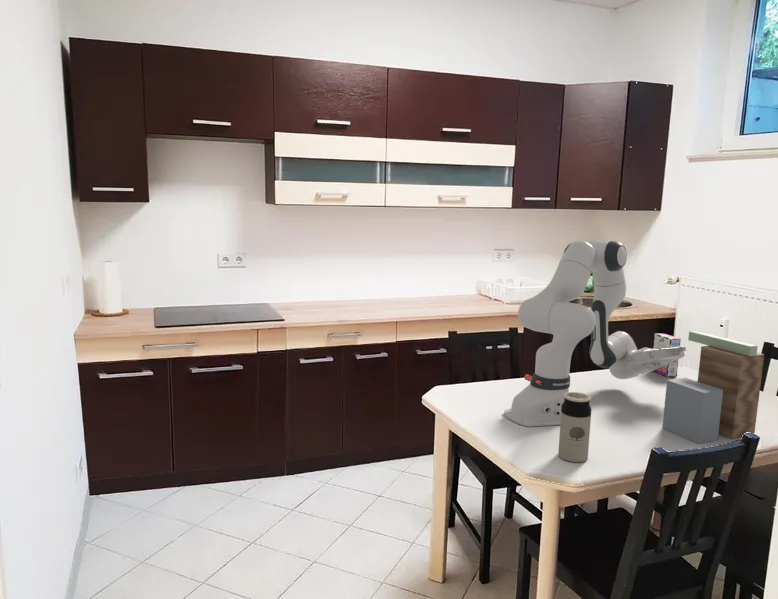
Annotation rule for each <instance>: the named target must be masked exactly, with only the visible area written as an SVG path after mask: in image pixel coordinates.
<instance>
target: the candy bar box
mask: <svg viewBox="0 0 778 599" xmlns="http://www.w3.org/2000/svg"><path fill="white" fill-rule="evenodd" d="M681 341H682V339H681V338H679V337H676V336H673V335H669V334H666V333H654V339H653V348H652V349H661V348H674V347H681ZM678 368H679V359H678V360H676V361H674V362H671V363H668V365H667V366H664V367H660V368H658V369H656V370H653V371H652V372H655V373H657V374H659V375H662V376H664V377H666V378H677V377H678Z"/></svg>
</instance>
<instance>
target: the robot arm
mask: <svg viewBox="0 0 778 599" xmlns="http://www.w3.org/2000/svg"><path fill="white" fill-rule="evenodd" d="M627 254H628V253H627V249H626V247H625V245H623V244H622V242H620V241H616V240H615V241H614V240H610V241H606V240H586V241H584V240H576V241H573V242H571V243H569V244H568V245H567V246H566V247H565V249H564V251H563V254H562V256H561V259H560V260H559V262H558V266H557V268H556V270H555V273H554V274H553V276H552V277H551V281H550V282H549V283H548V284H547V286H546V287H545V288H544V289H543V290H542V291H540V292H539V293H538V294H536V295H535V296H533V297H530V298H528V299H526V300H523V302H522V303H521V304H520V305H519V308H518V311H517V318H518V321H519V323H520V326H522V327H524V328H527V329H528V330H531V331H533V332H539V333H545V334H551V335H553V337H552V340H551V342H549V343H545V344H543V345H542V346H540V347H539V348H538V349H537V351H536V353H535V367H534V370H535V371H534V372H533V374H532V375H529V373H528V374H525V375H524V377H523V378H524V380H525V381H527V382H529V384H528V385H527V386H526V387H525V388H523V389H522V390H521V391H520V392H519V393H517V394H516V395H515V396H514V397H513V399H512V404H511V408H508V409H504V412H503V414H504V416H505V417H506V418H507V419H509V420H510V421H512V422H514V423H516V424H518V425H520V426H523V427H529V428H530V427H543V426H559V425H560V421H561V406H562V404H563V402H564V397H563V394H564V393H567V392H570V391H569V388H570V386H571V376H570V370H571V369H570V368H571V362H572V361H571V360H572V357H573V356H572V355H573V352H574V350H575V348H576V346H577V345H578V344H579V342H581V341H582V340H583V339H585V338H586V337H588V336H590V346H589V351H588V352H589V358H590V360H591V362H592V363H593V364H594V365H596V366H597V367H600V368H603V369H609V372H610V374H611V375H612V376H613V377H614V378H616V379H619V380H628V379H632V378H636V377H638V376H640V375H645V374H648V373H650V372H654V371H653V370H656V369H658V368H660V367H664V366H667V365H668V363H671V362H674V361H676V360H678V361H679V360H680V359H682V358H684V357H685V356H686V354H685V352H686V351H687V349H686V346H685V345H680V347H674V348H661V349H653V348H650V347H642V348H639V349H638V347H637V344H636V342H635V340H634V338H633V337H632V336H631V335H630V334H629V333H627V332H625V331H623V330H617V331H615V332H613V333H611V334H610V335H609V320H610V317H611V315H612V313H613V312H614V310H616V309H617V307H618V306H619V305H620V304H621V303H622V302H623V301H624V299H625V298H626V292H627V284H626V278H625V272H624V271H625V270H624V266H625V265H626V262H627V259H628V258H627V256H628V255H627ZM591 274H592V281H593V290H594V291H593V299H592V304H591V308H590V307H588V306H585V305H582V304H579V303H573V301H574V300H577V299H579V298H580V297H582V295H583V294H584V293H585V291H586V288H587V285H588V283H589V279H590V277H591ZM571 301H572V302H571Z"/></svg>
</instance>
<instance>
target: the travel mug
mask: <svg viewBox="0 0 778 599" xmlns="http://www.w3.org/2000/svg"><path fill="white" fill-rule="evenodd" d="M563 397H564V402H563V404H562V406H561V421H560V426H559V436H558V437H559V438H558V451H557V452H558V453H557V456H559V458H561V459H562V460H564V461H567V462H570V463H582V462H585V461H587V460H588V459H589V446H590V433H591V421H592V420H591V419H592V407H591V405H590V402H591V401H592V396H590V395H589V394H587V393H584V392H579V391H569V392H567V393H564V394H563Z"/></svg>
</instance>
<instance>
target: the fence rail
mask: <svg viewBox="0 0 778 599" xmlns="http://www.w3.org/2000/svg"><path fill="white" fill-rule="evenodd" d="M688 341H690V342H694V343H698V344H701V345H704V346H713V347H716V348H720V349H724V350H728V351H732V352H735V353H739V354H743V355H747V356H756V355H757V353H758V345H756V344H752V343H748V342H744V341H740V340H736V339H731V338H726V337H722V336H719V335H715V334H712V333H711V334H710V333H707V332H702V331H697V330H690V331H688Z"/></svg>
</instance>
